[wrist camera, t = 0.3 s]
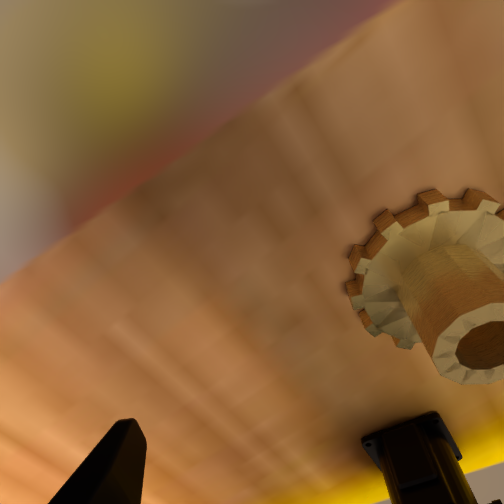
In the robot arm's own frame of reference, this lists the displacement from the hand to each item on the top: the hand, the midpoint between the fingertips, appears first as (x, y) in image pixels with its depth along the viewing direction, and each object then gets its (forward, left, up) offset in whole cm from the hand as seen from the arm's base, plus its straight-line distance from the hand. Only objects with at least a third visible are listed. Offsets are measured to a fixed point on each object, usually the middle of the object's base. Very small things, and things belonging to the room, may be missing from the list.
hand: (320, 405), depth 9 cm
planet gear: (-9, -5, -14) cm, 17 cm away
